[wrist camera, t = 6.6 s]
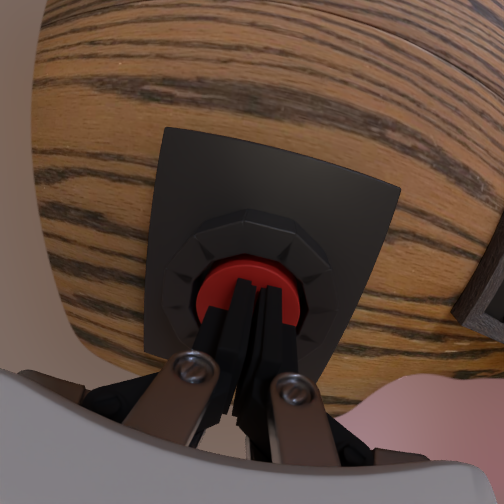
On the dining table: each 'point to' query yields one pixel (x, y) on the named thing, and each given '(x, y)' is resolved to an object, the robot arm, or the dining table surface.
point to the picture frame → (485, 292)
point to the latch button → (261, 274)
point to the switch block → (260, 235)
